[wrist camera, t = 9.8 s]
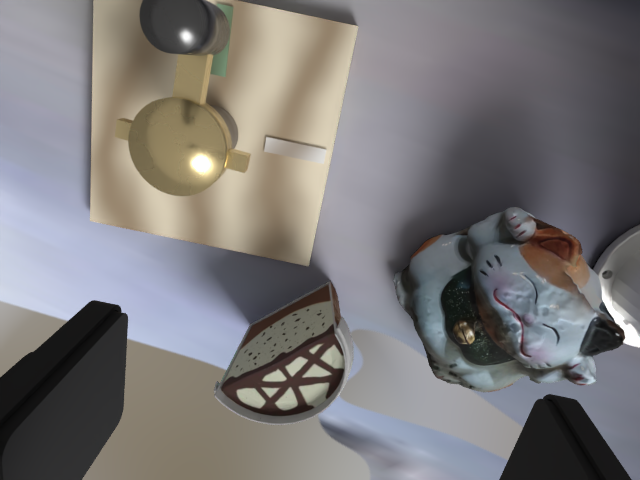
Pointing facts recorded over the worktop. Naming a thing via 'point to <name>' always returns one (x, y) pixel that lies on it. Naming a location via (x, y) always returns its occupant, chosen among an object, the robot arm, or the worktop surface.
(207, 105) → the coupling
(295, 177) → the post base
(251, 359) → the food container
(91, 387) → the robot arm
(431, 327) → the lucky cat figurine
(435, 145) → the worktop surface
